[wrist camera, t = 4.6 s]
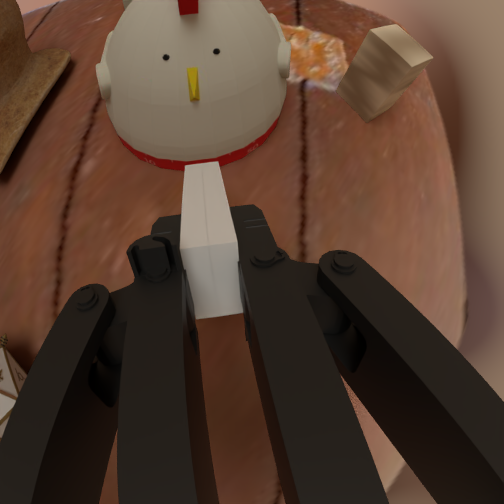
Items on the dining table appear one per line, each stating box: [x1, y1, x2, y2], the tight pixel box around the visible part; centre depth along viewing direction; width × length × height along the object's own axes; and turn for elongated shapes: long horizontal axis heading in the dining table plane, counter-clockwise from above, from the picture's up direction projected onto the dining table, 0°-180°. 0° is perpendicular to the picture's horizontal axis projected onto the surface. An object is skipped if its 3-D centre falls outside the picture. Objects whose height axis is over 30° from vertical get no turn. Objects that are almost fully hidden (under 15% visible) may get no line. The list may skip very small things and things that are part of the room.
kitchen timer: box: [96, 0, 291, 171], centre depth 13 cm, size 14×14×15 cm
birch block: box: [336, 24, 433, 123], centre depth 19 cm, size 4×4×8 cm
